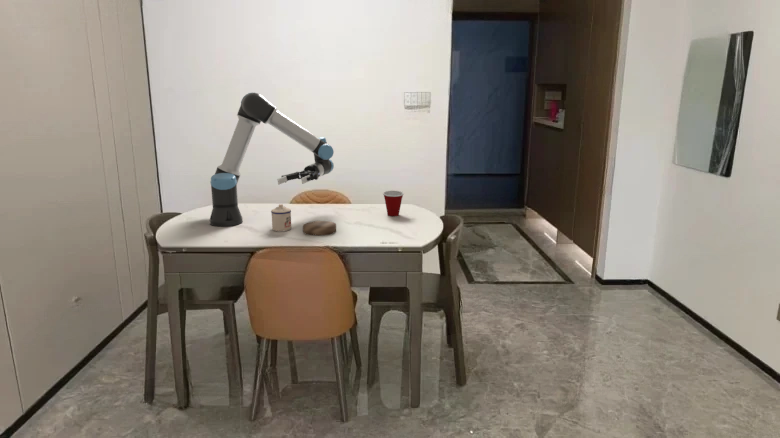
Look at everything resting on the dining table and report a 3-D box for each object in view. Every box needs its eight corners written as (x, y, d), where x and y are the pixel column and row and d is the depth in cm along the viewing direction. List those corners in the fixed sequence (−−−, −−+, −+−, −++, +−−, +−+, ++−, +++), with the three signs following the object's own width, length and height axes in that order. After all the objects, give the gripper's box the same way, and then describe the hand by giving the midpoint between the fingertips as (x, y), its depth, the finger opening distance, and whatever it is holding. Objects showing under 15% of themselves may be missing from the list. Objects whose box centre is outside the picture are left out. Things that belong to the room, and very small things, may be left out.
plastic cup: (382, 217, 273) (382, 194, 271) (382, 213, 284) (382, 190, 281) (404, 217, 274) (404, 194, 271) (403, 212, 284) (403, 190, 281)
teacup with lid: (288, 232, 245) (287, 206, 242) (269, 231, 246) (267, 206, 243) (296, 225, 257) (295, 201, 254) (277, 225, 258) (276, 201, 255)
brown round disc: (297, 234, 241) (297, 227, 241) (311, 226, 256) (311, 220, 255) (328, 236, 238) (328, 229, 237) (341, 228, 252) (340, 222, 251)
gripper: (335, 178, 271) (313, 188, 252) (294, 179, 281) (270, 189, 263) (333, 163, 269) (311, 172, 250) (291, 165, 279) (267, 174, 261)
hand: (290, 181), depth 256 cm, fingers open, 13 cm apart
